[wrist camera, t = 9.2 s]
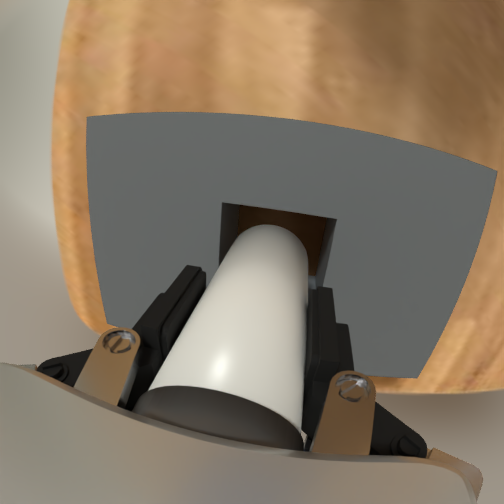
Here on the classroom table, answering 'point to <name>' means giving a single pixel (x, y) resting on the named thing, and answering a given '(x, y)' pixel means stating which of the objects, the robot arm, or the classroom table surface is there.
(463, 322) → the classroom table surface
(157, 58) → the classroom table surface
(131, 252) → the socket block
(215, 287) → the peg
